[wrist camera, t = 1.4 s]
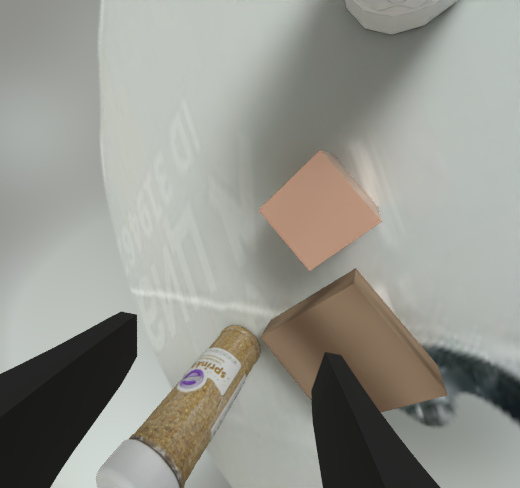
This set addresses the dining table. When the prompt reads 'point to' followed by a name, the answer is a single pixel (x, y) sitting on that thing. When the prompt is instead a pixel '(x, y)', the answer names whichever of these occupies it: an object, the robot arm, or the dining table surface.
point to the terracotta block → (320, 210)
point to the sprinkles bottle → (184, 418)
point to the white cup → (396, 13)
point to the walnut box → (355, 344)
